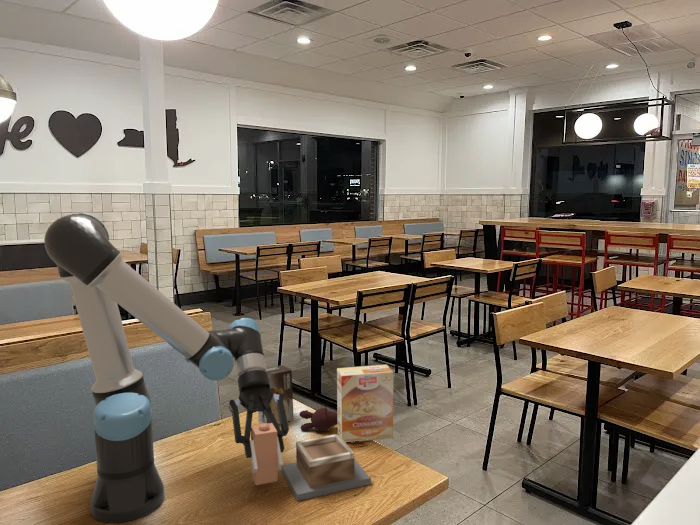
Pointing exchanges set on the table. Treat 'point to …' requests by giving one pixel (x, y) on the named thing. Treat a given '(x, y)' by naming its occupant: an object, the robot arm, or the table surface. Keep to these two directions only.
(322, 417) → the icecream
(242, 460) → the table surface
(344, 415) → the coffeecake box
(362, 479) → the base board
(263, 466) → the block
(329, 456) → the brown square box
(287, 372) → the coffee box
